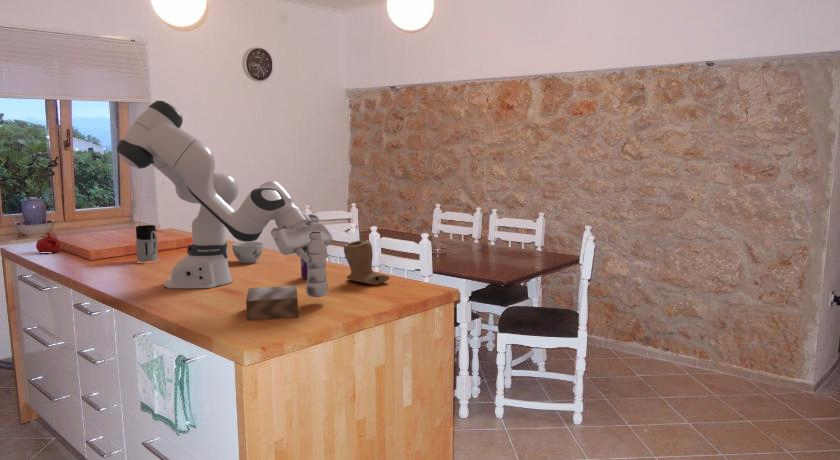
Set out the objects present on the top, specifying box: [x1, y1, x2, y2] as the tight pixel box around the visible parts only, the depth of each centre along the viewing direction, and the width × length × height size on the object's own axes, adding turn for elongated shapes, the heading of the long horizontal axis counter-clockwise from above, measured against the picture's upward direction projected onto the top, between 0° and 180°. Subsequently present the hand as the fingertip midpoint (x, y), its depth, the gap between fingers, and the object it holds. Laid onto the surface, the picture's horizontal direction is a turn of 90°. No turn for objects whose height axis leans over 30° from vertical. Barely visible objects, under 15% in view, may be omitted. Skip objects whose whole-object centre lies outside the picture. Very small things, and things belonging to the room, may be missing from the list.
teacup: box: [231, 241, 264, 264], centre depth 255 cm, size 15×12×8 cm
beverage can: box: [300, 251, 308, 280], centre depth 225 cm, size 7×7×12 cm
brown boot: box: [343, 239, 390, 286], centre depth 217 cm, size 15×12×15 cm
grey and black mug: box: [135, 224, 159, 262], centre depth 254 cm, size 9×14×15 cm, turn 46°
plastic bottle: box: [305, 232, 329, 298], centre depth 187 cm, size 6×7×20 cm
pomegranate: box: [35, 232, 61, 253], centre depth 279 cm, size 10×10×9 cm
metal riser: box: [245, 285, 299, 321], centre depth 179 cm, size 14×14×6 cm
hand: (317, 259), depth 187 cm, fingers closed on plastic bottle, 6 cm apart
